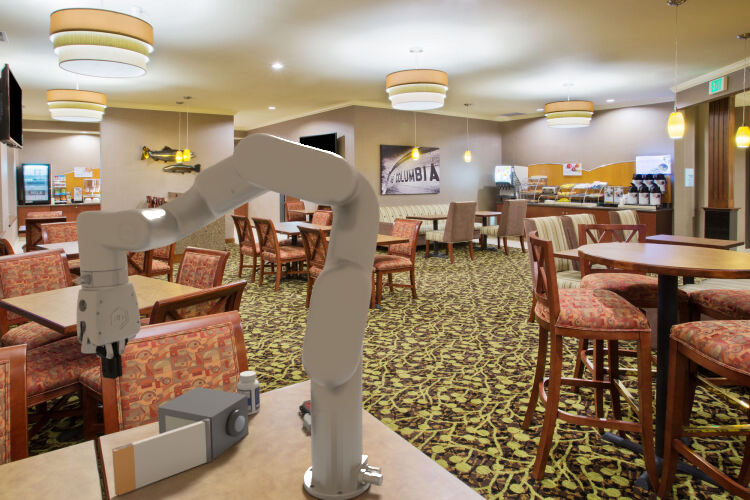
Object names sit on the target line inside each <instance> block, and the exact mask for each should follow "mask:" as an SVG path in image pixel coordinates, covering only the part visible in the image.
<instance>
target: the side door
mask: <svg viewBox="0 0 750 500" xmlns="http://www.w3.org/2000/svg"><path fill="white" fill-rule="evenodd" d="M111 451H112V452H111V453H112V465H113V466H112V467H113V480H114V481H113V482H114V495H115V496H116V495H117V496H116V497H119V496H121V495H125V494H126V493H130V492H131V491H134V490H135V491H136V490H137V489H139V488H143V487H144V486H147V485H150V484H153V483H156V482H158V481H160V480H163V479H166V478H168V477H171V476H173V475H177V474H180V473H181V472H184V471H187V470H190V469H193V468H194V467H197V466H201V465H203V464H206V463H207V464H208V463H211V462H212V461H213V460H212V459H211V434H210V419H203V421H200V422H196V423H193V424H190V425H187V426H184V427H181V428H178V429H174V430H171V431H168V432H165V433H162V434H156V435H153V436H149V437H146V438H143V439H140V440H137V441H134V442H130V443H127V444H124V445H121V446H118V447H115V448H112V450H111ZM118 495H119V496H118Z"/></svg>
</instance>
